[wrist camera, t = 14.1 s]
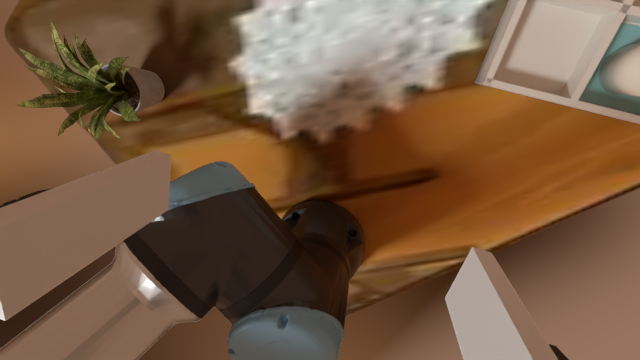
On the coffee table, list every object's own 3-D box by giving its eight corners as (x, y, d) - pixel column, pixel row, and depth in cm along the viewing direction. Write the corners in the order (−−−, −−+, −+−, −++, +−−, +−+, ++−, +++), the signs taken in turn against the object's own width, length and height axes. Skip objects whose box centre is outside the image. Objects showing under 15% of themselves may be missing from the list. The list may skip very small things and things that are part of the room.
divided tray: (637, 124, 37) (662, 129, 34) (474, 83, 39) (482, 84, 35) (770, -77, 29) (818, -95, 26) (557, -118, 31) (578, -140, 28)
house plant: (211, 69, 44) (125, 70, 29) (184, 147, 50) (101, 182, 35) (126, 21, 44) (-4, -3, 29) (109, 105, 49) (-9, 121, 34)
